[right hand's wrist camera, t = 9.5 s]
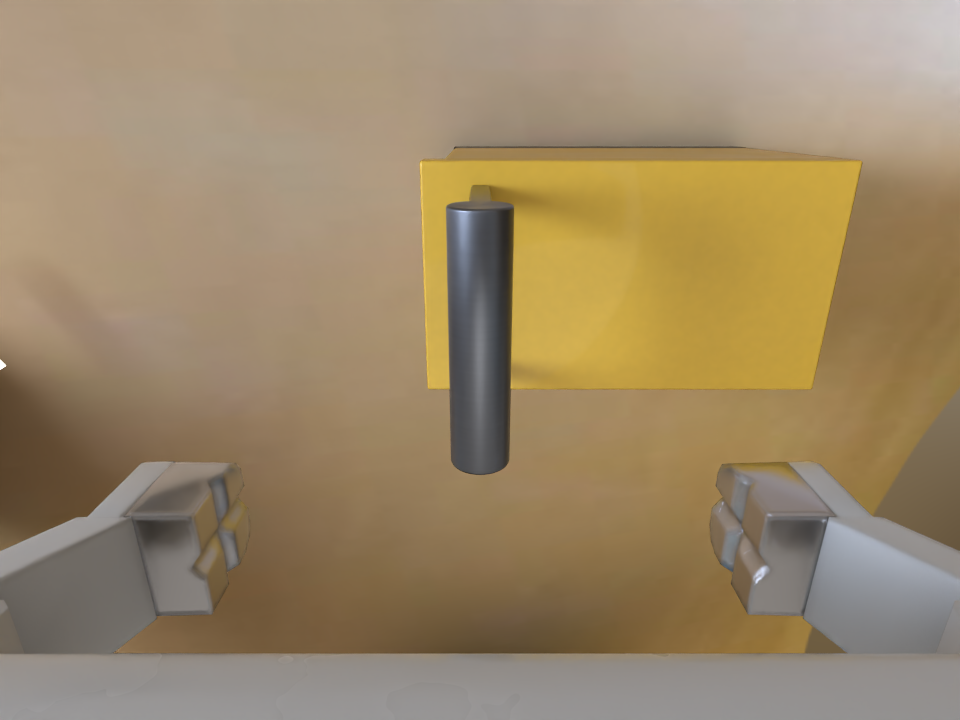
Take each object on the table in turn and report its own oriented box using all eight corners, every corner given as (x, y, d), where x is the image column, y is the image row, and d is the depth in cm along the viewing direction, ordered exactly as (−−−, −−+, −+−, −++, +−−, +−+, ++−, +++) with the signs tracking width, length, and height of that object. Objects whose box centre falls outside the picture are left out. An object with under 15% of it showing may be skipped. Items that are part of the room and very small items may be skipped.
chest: (457, 308, 36) (448, 379, 27) (454, 146, 33) (443, 158, 23) (713, 308, 36) (799, 379, 27) (737, 146, 33) (846, 158, 23)
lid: (429, 379, 27) (406, 495, 18) (422, 158, 23) (389, 179, 15) (800, 379, 26) (942, 496, 18) (846, 158, 23) (1048, 179, 15)
